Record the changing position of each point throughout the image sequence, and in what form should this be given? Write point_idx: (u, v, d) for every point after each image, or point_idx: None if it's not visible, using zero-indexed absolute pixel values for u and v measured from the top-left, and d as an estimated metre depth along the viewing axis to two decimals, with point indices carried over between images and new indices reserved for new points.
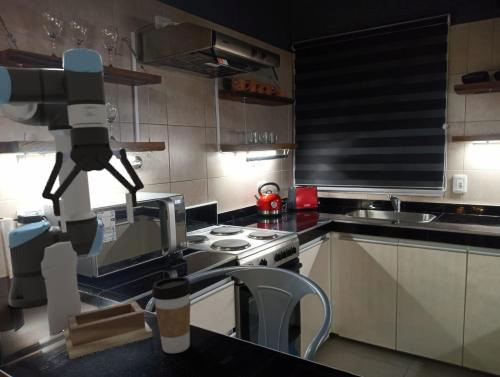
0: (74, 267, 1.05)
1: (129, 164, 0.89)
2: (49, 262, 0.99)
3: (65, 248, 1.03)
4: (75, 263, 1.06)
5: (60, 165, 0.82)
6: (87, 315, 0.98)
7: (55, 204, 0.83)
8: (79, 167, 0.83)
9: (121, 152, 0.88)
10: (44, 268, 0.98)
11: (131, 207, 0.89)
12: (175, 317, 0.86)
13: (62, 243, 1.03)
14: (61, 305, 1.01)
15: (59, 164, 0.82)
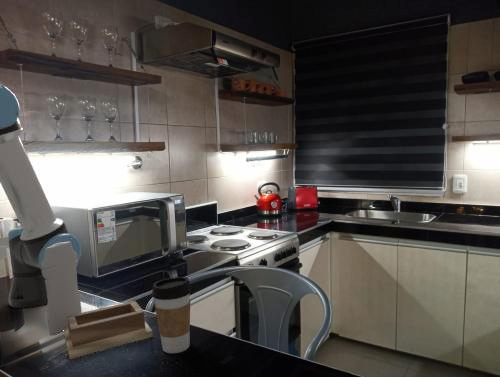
0: (74, 267, 1.05)
1: None
2: (49, 262, 0.99)
3: (65, 248, 1.03)
4: (75, 263, 1.06)
5: None
6: (87, 315, 0.98)
7: None
8: None
9: None
10: (44, 268, 0.98)
11: None
12: (175, 317, 0.86)
13: (62, 243, 1.03)
14: (61, 305, 1.01)
15: None
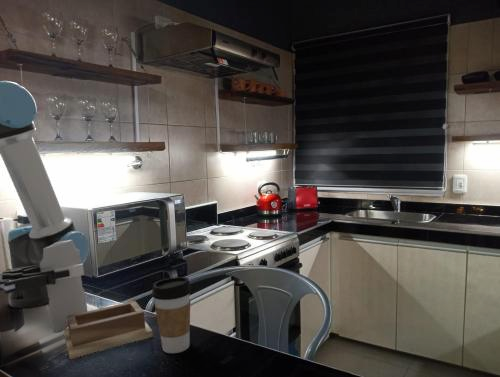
0: None
1: None
2: (48, 262, 0.98)
3: (66, 247, 1.02)
4: (77, 261, 1.05)
5: None
6: (87, 315, 0.98)
7: None
8: None
9: None
10: (42, 268, 0.98)
11: None
12: (175, 317, 0.86)
13: (62, 242, 1.02)
14: (63, 303, 1.02)
15: None
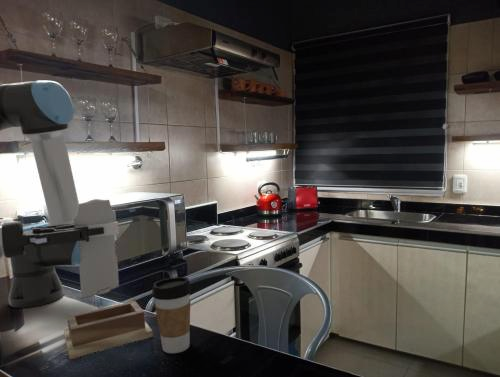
0: None
1: (56, 243, 0.86)
2: (83, 219, 0.91)
3: (102, 206, 0.95)
4: None
5: None
6: (87, 315, 0.98)
7: None
8: None
9: None
10: (77, 225, 0.91)
11: (103, 235, 0.93)
12: (175, 317, 0.86)
13: (99, 200, 0.94)
14: (94, 267, 0.93)
15: None
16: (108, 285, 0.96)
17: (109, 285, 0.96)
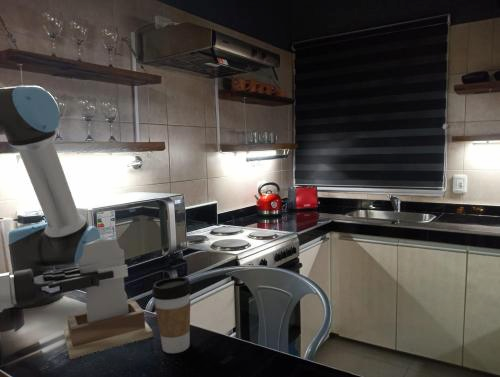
0: None
1: None
2: (87, 259, 0.93)
3: (108, 245, 0.96)
4: (120, 262, 0.98)
5: None
6: None
7: None
8: None
9: None
10: (81, 265, 0.93)
11: None
12: (175, 317, 0.86)
13: (104, 240, 0.96)
14: (100, 306, 0.95)
15: None
16: None
17: None
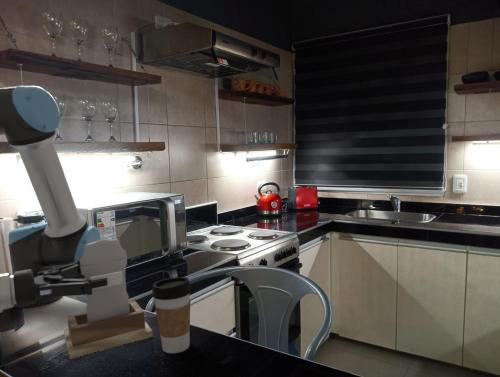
0: (120, 267, 0.97)
1: None
2: (87, 259, 0.93)
3: (109, 246, 0.95)
4: (122, 263, 0.97)
5: None
6: None
7: None
8: None
9: None
10: (82, 265, 0.93)
11: None
12: (175, 317, 0.86)
13: (106, 240, 0.95)
14: (100, 306, 0.95)
15: None
16: None
17: None
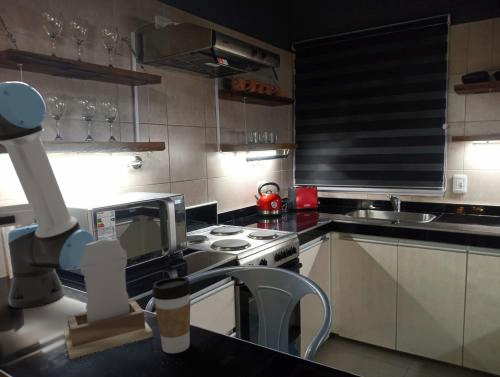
0: (120, 267, 0.97)
1: None
2: (87, 259, 0.93)
3: (109, 246, 0.95)
4: (122, 263, 0.97)
5: None
6: None
7: None
8: None
9: None
10: (82, 265, 0.93)
11: (15, 225, 0.81)
12: (175, 317, 0.86)
13: (106, 240, 0.95)
14: (100, 306, 0.95)
15: None
16: None
17: None
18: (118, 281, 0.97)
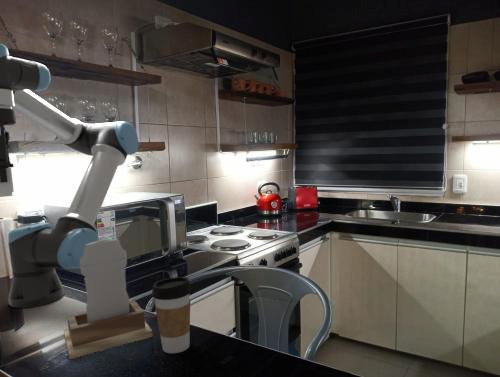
0: (120, 267, 0.97)
1: None
2: (87, 259, 0.93)
3: (109, 246, 0.95)
4: (122, 263, 0.97)
5: None
6: None
7: None
8: None
9: None
10: (82, 265, 0.93)
11: None
12: (175, 317, 0.86)
13: (106, 240, 0.95)
14: (100, 306, 0.95)
15: None
16: None
17: None
18: (118, 281, 0.97)
